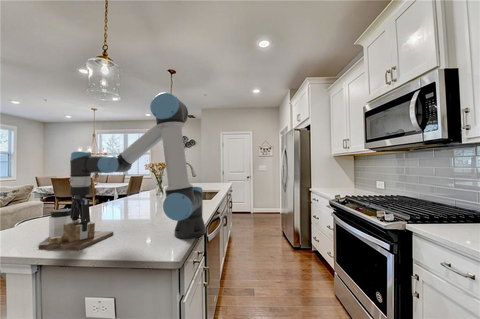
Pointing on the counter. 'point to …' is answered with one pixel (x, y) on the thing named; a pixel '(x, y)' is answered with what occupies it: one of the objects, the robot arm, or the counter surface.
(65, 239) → the wooden square frame
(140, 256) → the counter surface
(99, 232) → the jig
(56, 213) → the jar
